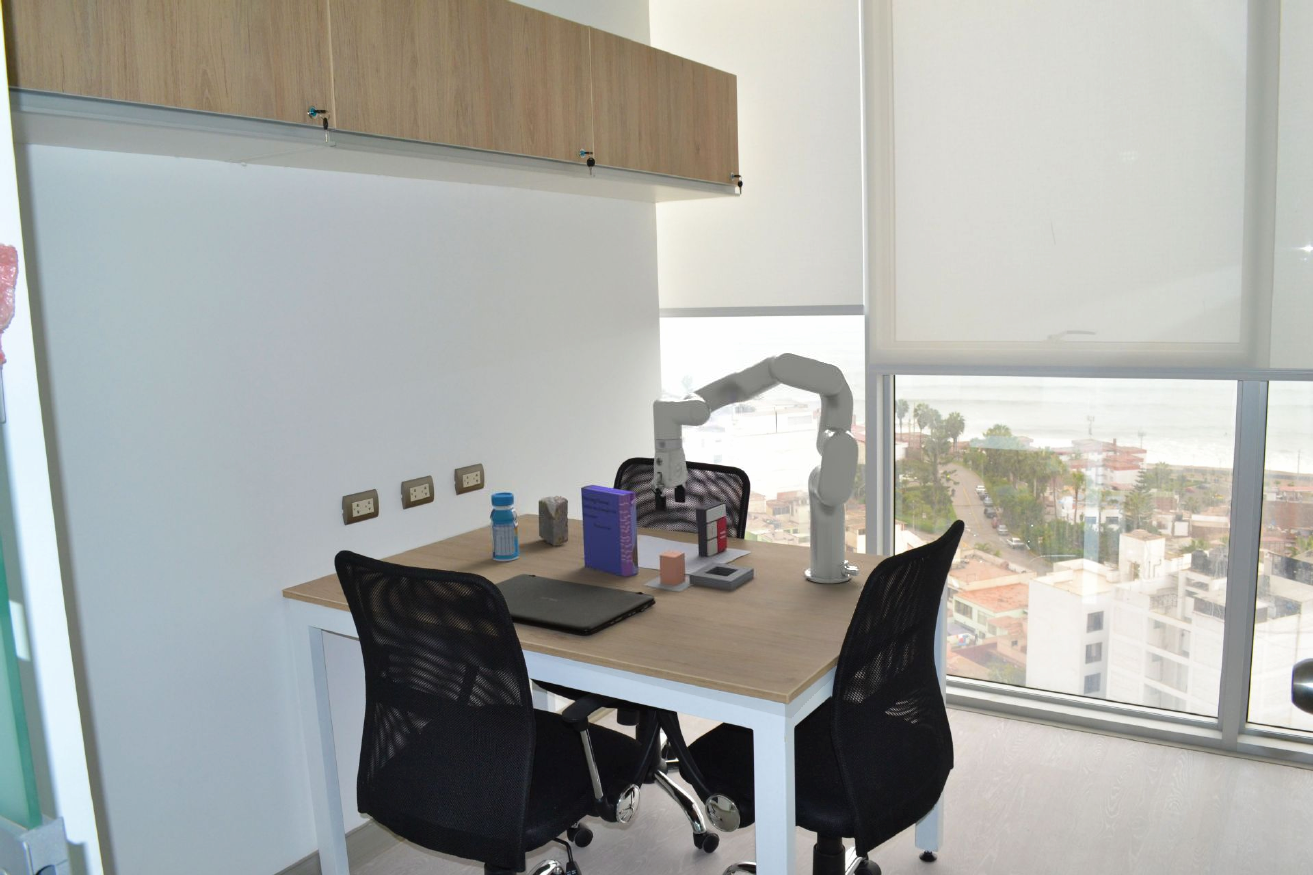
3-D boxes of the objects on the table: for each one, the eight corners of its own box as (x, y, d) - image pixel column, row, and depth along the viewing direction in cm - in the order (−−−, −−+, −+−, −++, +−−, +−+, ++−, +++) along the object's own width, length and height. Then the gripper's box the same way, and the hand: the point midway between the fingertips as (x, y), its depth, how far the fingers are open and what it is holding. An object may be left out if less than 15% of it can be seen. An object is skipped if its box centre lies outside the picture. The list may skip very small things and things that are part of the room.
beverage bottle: (501, 563, 293) (497, 499, 290) (486, 558, 299) (482, 494, 296) (525, 557, 298) (521, 494, 295) (510, 552, 305) (506, 490, 301)
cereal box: (638, 573, 279) (635, 491, 275) (626, 577, 276) (623, 494, 272) (596, 562, 291) (592, 484, 287) (584, 566, 288) (581, 487, 284)
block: (685, 580, 269) (684, 552, 268) (675, 585, 265) (675, 557, 264) (670, 578, 272) (669, 550, 271) (660, 583, 268) (659, 555, 266)
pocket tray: (753, 578, 271) (753, 568, 271) (731, 592, 260) (731, 581, 260) (713, 572, 278) (712, 561, 278) (689, 584, 267) (689, 574, 267)
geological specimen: (538, 540, 318) (536, 495, 315) (555, 537, 321) (553, 492, 319) (553, 547, 309) (551, 501, 306) (570, 544, 312) (568, 498, 310)
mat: (702, 581, 270) (702, 579, 270) (679, 593, 260) (679, 591, 260) (666, 575, 277) (666, 573, 277) (642, 587, 267) (642, 584, 267)
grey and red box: (708, 558, 291) (707, 509, 289) (696, 556, 294) (695, 508, 291) (728, 549, 300) (727, 502, 297) (716, 547, 302) (715, 500, 300)
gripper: (662, 450, 253) (665, 514, 256) (696, 439, 267) (698, 500, 270) (638, 448, 257) (641, 512, 260) (673, 438, 271) (675, 498, 274)
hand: (670, 506), depth 265 cm, fingers open, 9 cm apart
